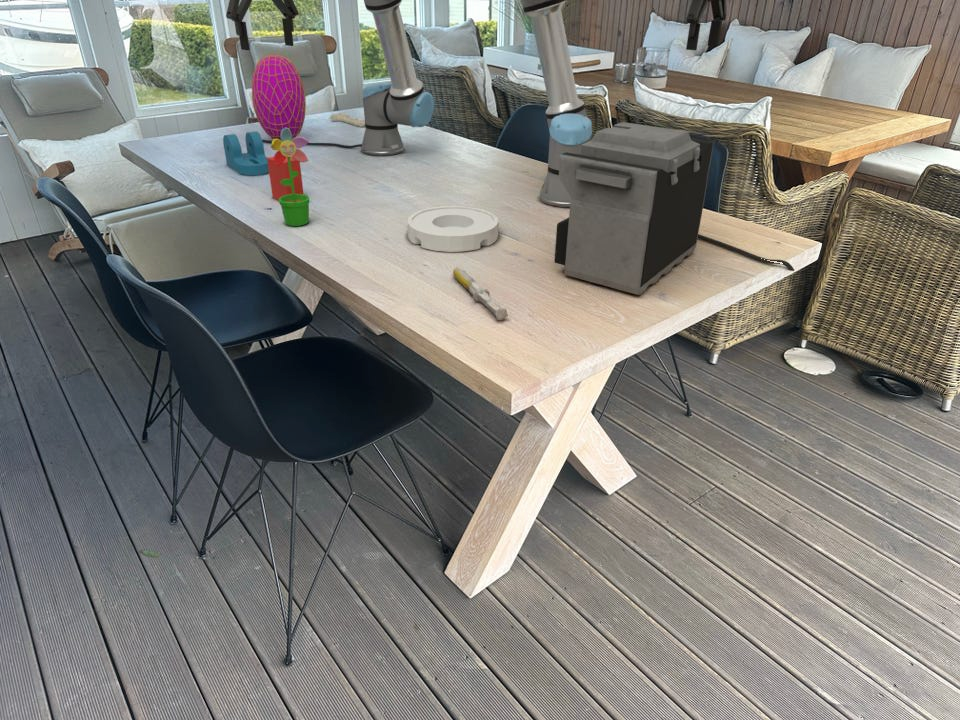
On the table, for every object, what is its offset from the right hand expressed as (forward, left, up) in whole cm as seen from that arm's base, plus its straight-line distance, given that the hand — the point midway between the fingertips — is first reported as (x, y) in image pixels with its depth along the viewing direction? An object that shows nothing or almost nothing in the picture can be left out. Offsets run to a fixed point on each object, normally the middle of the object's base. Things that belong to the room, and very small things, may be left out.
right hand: (702, 48), depth 191 cm
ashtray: (+45, +66, -41) cm, 89 cm away
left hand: (+102, +60, 0) cm, 118 cm away
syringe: (+23, +96, -41) cm, 107 cm away
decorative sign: (+149, -38, -41) cm, 159 cm away
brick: (+102, +60, -41) cm, 125 cm away
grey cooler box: (0, +64, -41) cm, 76 cm away
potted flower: (+86, +76, -41) cm, 122 cm away
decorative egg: (+150, +2, -41) cm, 156 cm away
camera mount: (+134, +40, -41) cm, 145 cm away
